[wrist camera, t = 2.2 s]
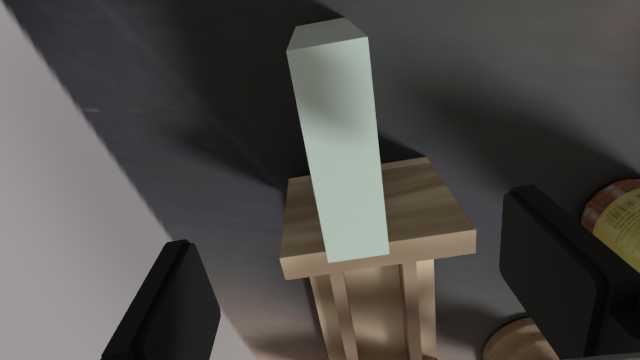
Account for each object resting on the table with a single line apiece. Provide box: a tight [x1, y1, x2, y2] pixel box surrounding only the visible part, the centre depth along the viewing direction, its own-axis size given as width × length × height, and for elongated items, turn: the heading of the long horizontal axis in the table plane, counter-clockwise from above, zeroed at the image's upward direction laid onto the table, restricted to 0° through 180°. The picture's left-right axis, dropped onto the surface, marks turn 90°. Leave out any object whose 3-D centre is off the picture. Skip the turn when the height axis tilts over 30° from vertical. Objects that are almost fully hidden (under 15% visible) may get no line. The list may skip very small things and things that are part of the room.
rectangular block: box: [286, 18, 390, 263], centre depth 20 cm, size 10×4×10 cm, turn 9°
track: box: [280, 157, 476, 360], centre depth 28 cm, size 22×10×9 cm, turn 9°
